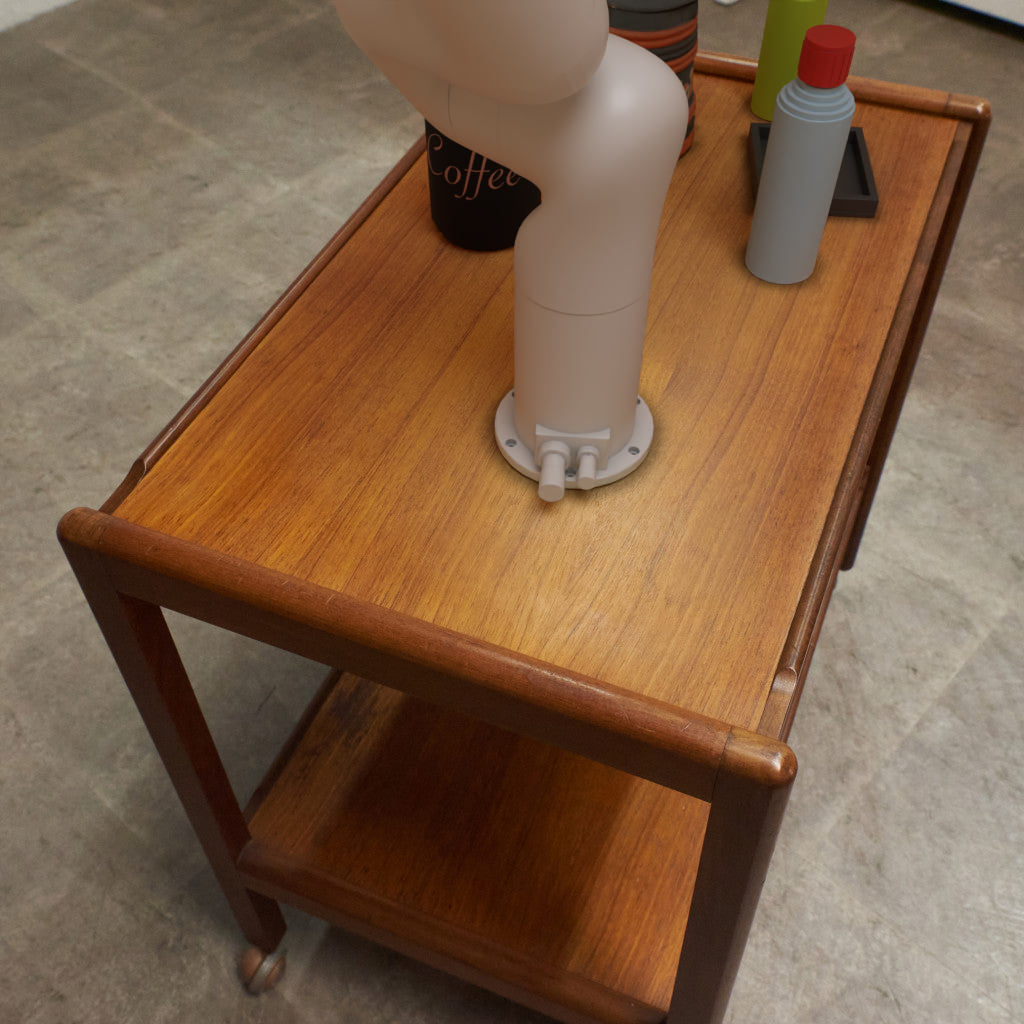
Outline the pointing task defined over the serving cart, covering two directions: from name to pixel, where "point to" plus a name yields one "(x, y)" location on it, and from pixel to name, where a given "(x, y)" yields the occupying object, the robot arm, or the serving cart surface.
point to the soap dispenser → (782, 49)
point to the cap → (826, 56)
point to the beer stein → (662, 38)
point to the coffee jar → (475, 196)
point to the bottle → (798, 180)
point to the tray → (854, 178)
